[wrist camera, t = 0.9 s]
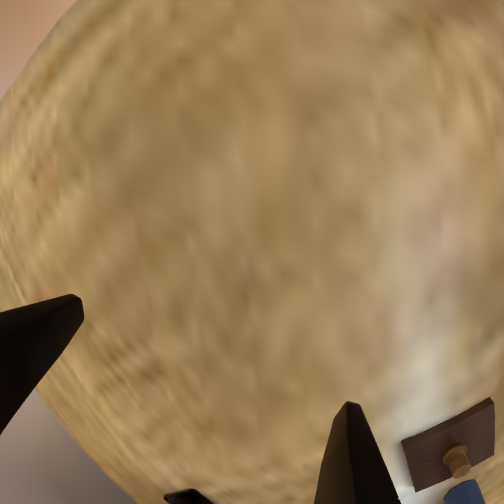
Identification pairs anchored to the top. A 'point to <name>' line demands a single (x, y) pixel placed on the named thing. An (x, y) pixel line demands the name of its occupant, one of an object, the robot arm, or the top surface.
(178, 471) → the top surface
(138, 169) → the top surface
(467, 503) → the blue sleeve
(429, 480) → the brown plate with knob
